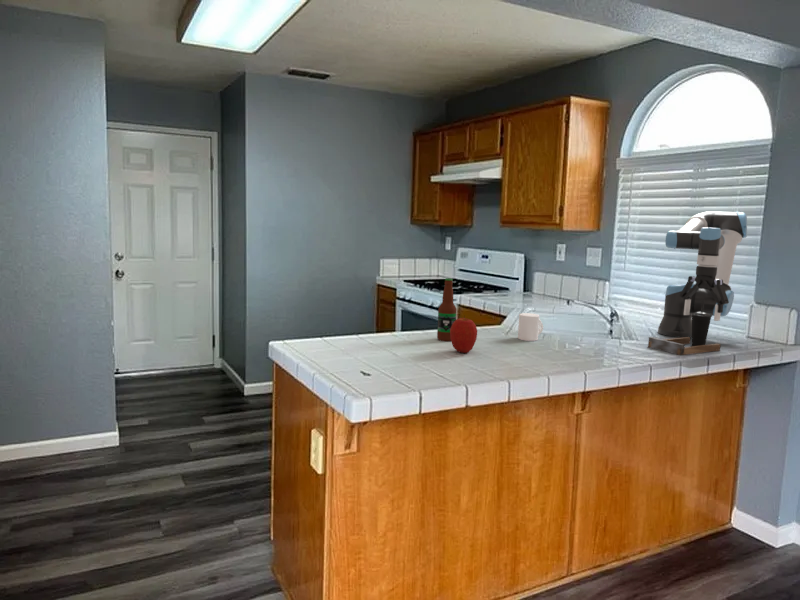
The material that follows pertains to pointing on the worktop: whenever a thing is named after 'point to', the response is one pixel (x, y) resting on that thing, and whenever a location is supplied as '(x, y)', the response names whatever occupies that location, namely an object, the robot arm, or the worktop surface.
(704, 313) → the drinking cup
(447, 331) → the bottle
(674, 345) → the channel
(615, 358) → the worktop surface
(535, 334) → the mug
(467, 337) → the apple
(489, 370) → the worktop surface
